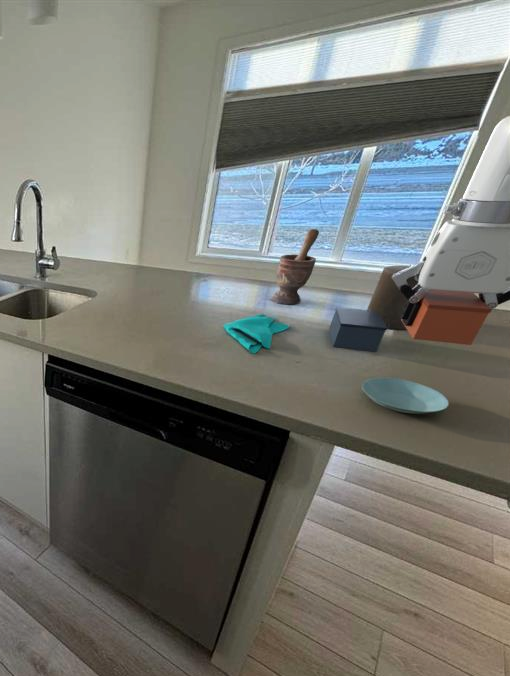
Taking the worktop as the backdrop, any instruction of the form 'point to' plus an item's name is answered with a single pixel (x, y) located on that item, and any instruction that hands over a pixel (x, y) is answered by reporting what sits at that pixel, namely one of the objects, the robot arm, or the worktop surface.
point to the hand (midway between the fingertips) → (436, 325)
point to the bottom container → (357, 329)
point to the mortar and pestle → (295, 271)
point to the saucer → (404, 396)
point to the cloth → (255, 331)
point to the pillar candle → (390, 297)
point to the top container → (449, 317)
